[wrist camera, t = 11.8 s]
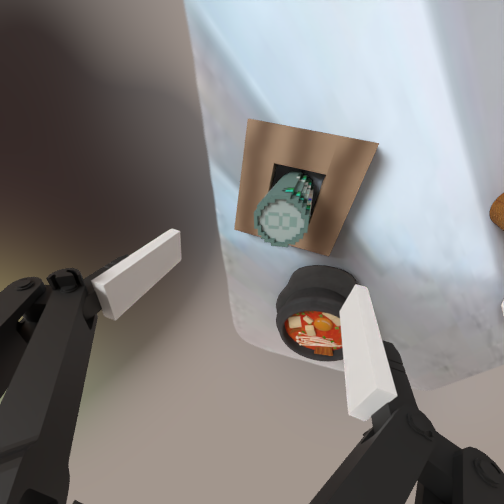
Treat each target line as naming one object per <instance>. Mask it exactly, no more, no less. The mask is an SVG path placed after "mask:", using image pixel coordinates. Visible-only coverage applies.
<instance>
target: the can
mask: <svg viewBox="0 0 504 504" xmlns="http://www.w3.org/2000/svg"><path fill="white" fill-rule="evenodd" d="M302 173H303V171H290V172H289V173H288V174H285V175H284V176H283V177H282V178H281V179H280V180H279V181H278V182H277V183H276V184H275V185H274V187H273V188H272V189H271V190H270V191H269V192H268V193H267V195H266V196H265V197H264V198H263V199H262V200H261V201H260V203H259V204H258V205H257V209H256V210H255V211H254V229H258V235H260V236H261V239H264V240H265V242H270V243H271V246H280V247H288V245H289V244H291V245H295V243H296V242H299V239H303V236H304V233H307V231H308V225H309V218H310V212H311V205H312V199H313V190H314V184H312V179H310V177H307V174H302Z"/></svg>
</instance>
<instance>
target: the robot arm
mask: <svg viewBox="0 0 504 504" xmlns="http://www.w3.org/2000/svg"><path fill="white" fill-rule="evenodd" d="M180 261H181V241H180V231H178V230H174V229H170V230H168V231H167V232H165V233H164V234H162V235H161V236H159V237H158V238H156V239H155V240H153V241H152V242H150V243H148V244H147V245H145V246H144V247H142V248H141V249H139V250H138V251H136V252H134V253H133V254H131V255H124V256H121V257H118V258H117V259H115V260H114V261H112V262H111V263H109V264H107V265H105V267H103V268H101V269H99V270H97V271H96V272H94V273H93V274H91V275H89V276H88V277H86V278H85V279H83V278H82V276H81V273H80V271H79V270H77V269H74V268H66V269H62V270H58V271H56V272H54V273H52V274H50V275H49V276H48V277H47V281H48V282H49V284H50V285H44V283H43V282H42V280H41V279H40V278H38V277H27V278H23V279H19V280H17V281H15V282H13V283H11V284H10V285H8V286H7V287H6V288H5V289H4V290H3V291H1V292H0V398H1V397H2V395H3V394H4V393H5V391H6V390H7V391H6V393H5V395H4V398H3V400H2V402H1V404H0V504H66V501H67V496H68V490H69V482H70V475H69V468H68V462H69V456H70V451H71V446H72V441H73V436H74V432H75V426H76V422H77V417H78V412H79V407H80V402H81V397H82V392H83V387H84V382H85V377H86V372H87V367H88V363H89V358H90V353H91V348H92V343H93V338H94V332H95V328H96V323H97V313H98V312H99V311H100V310H101V309H102V311H103V314H104V316H105V317H108V318H110V319H113V320H116V319H118V318H119V316H121V315H122V314H123V313H124V312H125V311H126V310H127V309H128V308H129V307H131V306H132V305H133V304H134V303H135V302H136V301H137V300H138V299H139V298H140V297H141V296H143V295H144V294H145V293H146V292H147V291H148V290H149V289H150V288H151V287H152V286H154V285H155V284H156V283H157V282H158V281H159V280H160V279H161V278H162V277H163V276H164V275H165V274H167V273H168V272H169V271H170V270H171V269H172V268H173V267H174V266H175V265H176V264H177V263H178V262H180ZM339 312H340V324H341V336H342V347H343V359H344V370H345V382H346V393H347V405H348V415H350V416H353V417H355V418H358V419H360V420H363V421H366V420H368V419H369V418H370V417H371V418H372V424H373V427H372V428H371V429H369V430H368V431H367V432H365V433H364V434H363V436H364V437H363V438H362V439H361V441H360V442H359V443H358V444H357V446H356V447H355V448H354V449H353V451H352V452H351V453H350V454H349V455H348V457H347V458H346V459H345V460H344V462H343V463H342V464H341V465H340V467H339V468H338V469H337V470H336V471H335V473H334V474H333V475H332V476H331V477H330V479H329V480H328V481H327V482H326V484H325V485H324V486H323V487H322V488H321V490H320V491H319V492H318V493H317V495H316V496H315V497H314V498H313V500H312V501H311V502H310V503H309V504H405V502H406V500H407V499H408V497H409V495H410V493H411V491H412V489H413V487H414V485H415V483H416V481H418V483H417V490H416V497H415V504H504V473H503V472H502V471H501V469H500V468H499V467H498V466H497V465H496V463H495V462H494V461H493V460H491V459H490V458H489V457H488V456H487V455H486V454H485V453H483V452H481V451H480V450H478V449H476V448H473V447H467V448H464V449H461V448H459V447H458V446H456V445H455V444H453V443H452V442H450V441H449V440H448V439H446V438H445V437H443V436H442V435H440V434H439V433H438V432H436V431H435V429H434V427H433V425H432V423H431V421H430V420H429V419H428V418H427V417H426V416H425V414H423V413H422V412H421V411H420V410H419V409H418V407H417V404H416V402H415V398H414V396H413V392H412V389H411V386H410V383H409V380H408V377H407V375H406V374H405V373H406V372H405V369H404V366H403V363H402V360H401V357H400V354H399V352H398V351H397V350H396V348H395V347H394V345H393V344H392V343H389V342H386V341H383V340H382V338H381V335H380V331H379V327H378V324H377V320H376V317H375V313H374V309H373V306H372V302H371V298H370V295H369V291H368V288H367V287H364V286H360V285H357V284H355V286H354V288H353V289H352V291H351V293H350V294H349V296H348V298H347V299H346V301H345V303H344V305H343V306H342V308H341V310H340V311H339ZM22 316H23V317H24V318H23V319H22V320H21V321H20V322H18V320H19V319H20V318H21V317H22ZM7 388H8V389H7ZM73 504H82V503H80V502H78V501H76V500H75V501H74V502H73Z"/></svg>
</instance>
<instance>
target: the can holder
mask: <svg viewBox="0 0 504 504" xmlns="http://www.w3.org/2000/svg"><path fill="white" fill-rule="evenodd" d="M378 145H379V143H375V142H370V141H364V140H359V139H354V138H349V137H343V136H338V135H333V134H327V133H322V132H317V131H312V130H306V129H301V128H296V127H291V126H285V125H280V124H275V123H269V122H264V121H259V120H254V119H248V122H247V130H246V138H245V147H244V155H243V163H242V171H241V180H240V188H239V196H238V204H237V213H236V221H235V229H234V230H238V231H241V232H245V233H248V234H252V235H255V236H259V237H261V236H260V235H258V229H254V211H255V210H256V209H257V205H258V204H259V203H260V201H261V200H262V199H263V198H264V197H265V196H266V195H267V193H268V192H269V191H270V190H271V189H272V185H273V180H274V176H275V171H276V166H277V164H280V165H285V166H289V167H294V168H298V169H303V170H307V171H312V172H316V173H321V174H325V177H324V180H323V182H322V185H321V188H320V191H319V194H318V197H317V200H316V203H315V206H314V209H313V212H312V215H311V217H310V218H309V225H308V231H307V233H304V236H303V239H299V242H296V243H295V245H291V244H289V245H291V246H294V247H298V248H301V249H305V250H308V251H312V252H315V253H319V254H322V255H326V256H329V255H330V253H331V251H332V248H333V246H334V244H335V242H336V239H337V237H338V235H339V233H340V230H341V228H342V226H343V224H344V221H345V219H346V217H347V215H348V212H349V210H350V208H351V206H352V203H353V201H354V199H355V197H356V194H357V192H358V190H359V188H360V185H361V183H362V181H363V179H364V176H365V174H366V172H367V170H368V167H369V165H370V163H371V161H372V158H373V156H374V154H375V152H376V149H377V147H378Z"/></svg>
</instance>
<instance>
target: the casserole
mask: <svg viewBox="0 0 504 504" xmlns="http://www.w3.org/2000/svg"><path fill="white" fill-rule="evenodd" d="M355 284H356V280H355V279H354V278H353V276H352V275H351V274H349V273H347V272H345V271H344V270H341V269H338V268H335V267H330V266H322V265H313V266H306V267H302V268H299V269H298V270H296V271H295V272H294V273H293V274H292V276H291V278H290V280H289V283H288V285H287V286H286V287H285V288H284V289H283V291H282V292H281V293H280V294H279V296H278V299H277V303H276V308H277V313H278V314H277V318H276V324H277V328H278V330H279V332H280V335H281V338H282V340H283V341H284V343H285V344H286V345H287V346H288V347H289V348H290V349H292V350H293V351H294V352H296V353H298V354H299V355H301V356H304V357H306V358H310V359H313V360H318V361H337V360H342V359H343V347H342V336H341V324H340V312H339V311H340V310H341V308H342V306H343V305H344V303H345V301H346V299H347V298H348V296H349V294H350V293H351V291H352V289H353V288H354V286H355Z"/></svg>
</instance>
